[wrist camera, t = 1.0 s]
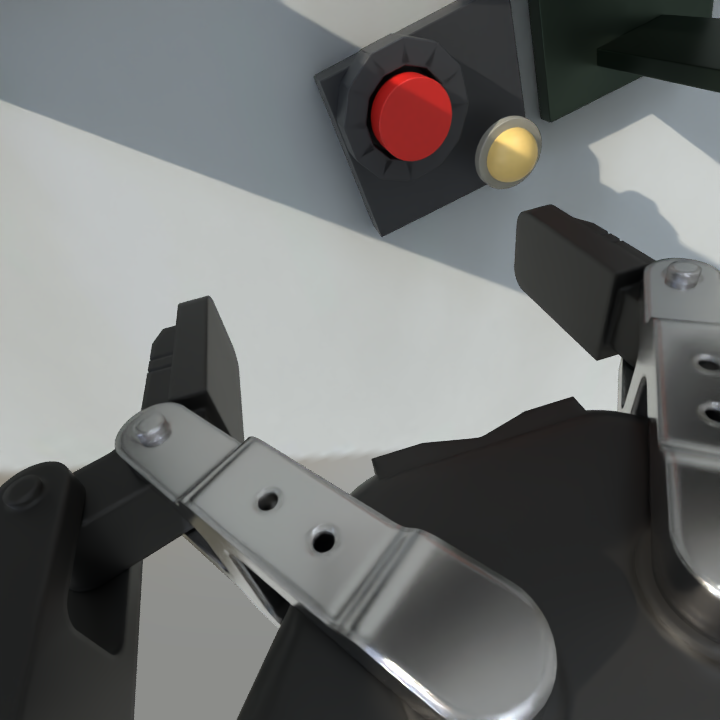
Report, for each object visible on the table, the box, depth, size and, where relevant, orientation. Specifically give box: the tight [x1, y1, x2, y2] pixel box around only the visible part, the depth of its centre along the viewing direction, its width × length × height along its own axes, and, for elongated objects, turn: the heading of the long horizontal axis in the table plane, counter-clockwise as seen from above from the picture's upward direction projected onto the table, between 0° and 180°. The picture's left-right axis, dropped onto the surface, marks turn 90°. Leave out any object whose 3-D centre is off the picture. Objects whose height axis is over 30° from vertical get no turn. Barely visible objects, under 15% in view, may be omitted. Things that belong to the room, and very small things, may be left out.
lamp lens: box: [475, 116, 542, 189], centre depth 28 cm, size 4×4×3 cm
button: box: [371, 72, 452, 161], centre depth 25 cm, size 4×4×2 cm
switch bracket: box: [528, 0, 720, 122], centre depth 23 cm, size 11×9×13 cm
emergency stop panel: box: [314, 0, 525, 237], centre depth 28 cm, size 10×11×4 cm
